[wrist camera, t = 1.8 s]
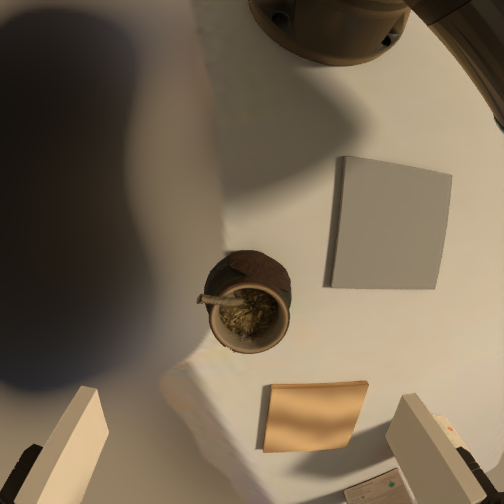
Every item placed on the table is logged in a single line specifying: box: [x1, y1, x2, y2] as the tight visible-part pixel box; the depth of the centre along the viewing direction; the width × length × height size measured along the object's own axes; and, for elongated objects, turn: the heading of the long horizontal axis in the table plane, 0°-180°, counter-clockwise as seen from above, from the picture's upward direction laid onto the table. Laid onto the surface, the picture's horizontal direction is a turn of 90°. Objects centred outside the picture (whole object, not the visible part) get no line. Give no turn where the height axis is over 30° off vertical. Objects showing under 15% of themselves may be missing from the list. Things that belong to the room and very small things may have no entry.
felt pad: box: [330, 156, 452, 289], centre depth 28 cm, size 12×12×1 cm
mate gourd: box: [197, 250, 292, 354], centre depth 24 cm, size 7×8×10 cm
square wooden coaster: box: [263, 381, 369, 453], centre depth 33 cm, size 11×11×1 cm
